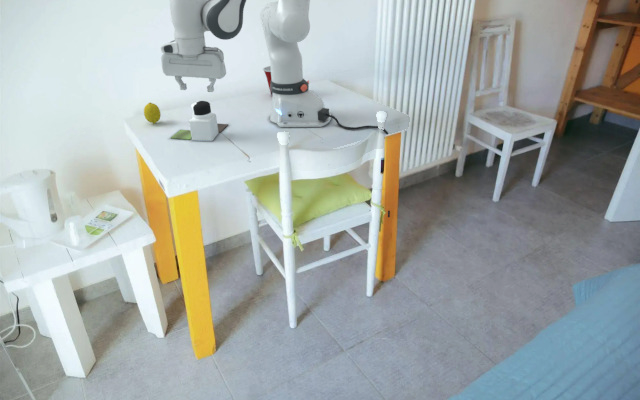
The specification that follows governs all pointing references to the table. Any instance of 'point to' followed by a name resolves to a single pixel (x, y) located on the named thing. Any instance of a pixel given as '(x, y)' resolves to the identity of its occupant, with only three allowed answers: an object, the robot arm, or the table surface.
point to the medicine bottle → (203, 122)
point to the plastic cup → (268, 75)
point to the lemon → (152, 113)
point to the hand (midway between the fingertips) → (197, 90)
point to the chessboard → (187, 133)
